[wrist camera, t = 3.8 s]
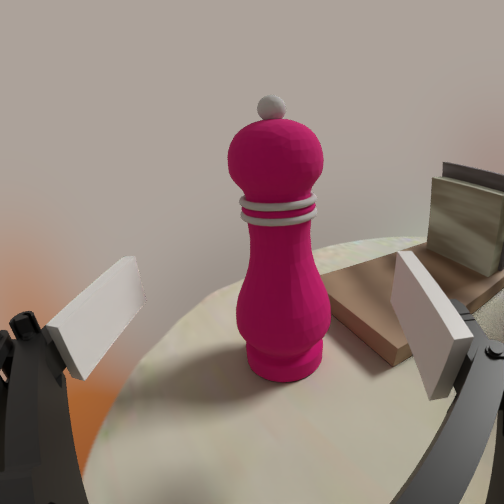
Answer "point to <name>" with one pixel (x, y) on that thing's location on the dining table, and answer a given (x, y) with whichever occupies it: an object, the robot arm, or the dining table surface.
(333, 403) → the dining table surface
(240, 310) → the pepper mill
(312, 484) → the dining table surface
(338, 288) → the wooden bookend
